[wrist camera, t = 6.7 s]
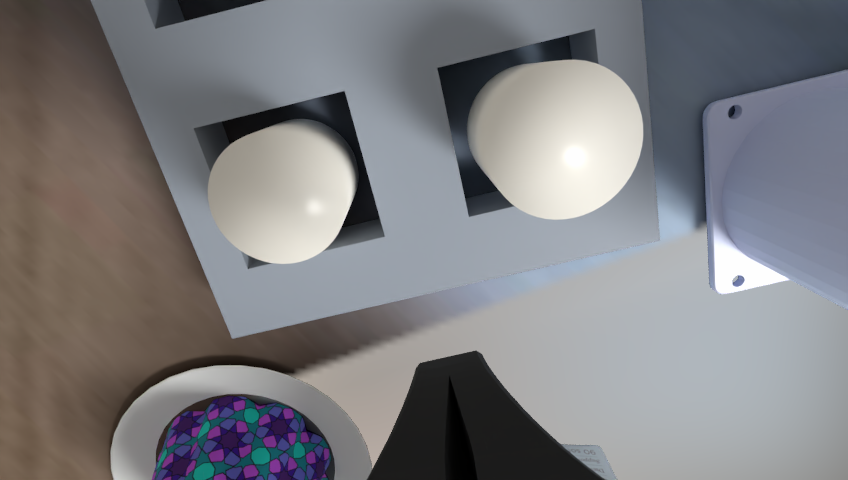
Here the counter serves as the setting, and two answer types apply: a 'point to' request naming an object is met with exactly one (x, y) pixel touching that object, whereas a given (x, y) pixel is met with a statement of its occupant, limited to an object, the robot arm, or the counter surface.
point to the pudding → (238, 430)
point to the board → (369, 138)
